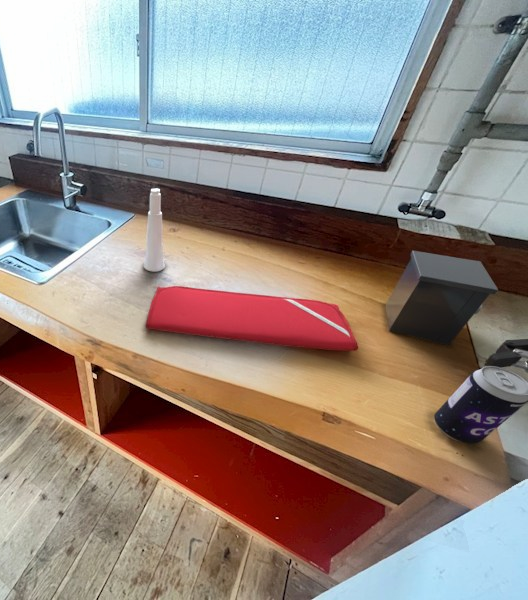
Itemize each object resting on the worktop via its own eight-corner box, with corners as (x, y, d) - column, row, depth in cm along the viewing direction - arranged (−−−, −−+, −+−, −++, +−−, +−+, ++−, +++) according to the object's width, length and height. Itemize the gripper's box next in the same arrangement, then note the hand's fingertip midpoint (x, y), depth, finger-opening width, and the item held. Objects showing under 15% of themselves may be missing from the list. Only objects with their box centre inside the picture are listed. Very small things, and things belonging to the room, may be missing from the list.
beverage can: (440, 441, 48) (491, 392, 41) (424, 410, 53) (468, 360, 46) (486, 451, 47) (548, 402, 40) (467, 418, 51) (519, 368, 44)
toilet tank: (441, 316, 71) (480, 261, 62) (452, 347, 63) (498, 290, 55) (382, 303, 75) (412, 250, 67) (386, 331, 68) (420, 275, 59)
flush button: (471, 308, 64) (480, 297, 62) (475, 316, 62) (484, 305, 60) (453, 305, 65) (461, 294, 64) (456, 312, 63) (465, 301, 62)
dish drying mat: (157, 290, 82) (157, 278, 80) (333, 310, 74) (338, 297, 72) (145, 331, 70) (145, 318, 68) (353, 360, 62) (361, 346, 59)
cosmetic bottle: (139, 265, 93) (138, 189, 80) (156, 259, 96) (157, 184, 82) (152, 274, 89) (152, 195, 76) (169, 267, 92) (172, 190, 78)
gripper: (584, 320, 49) (487, 331, 48) (737, 399, 37) (613, 415, 36) (547, 354, 53) (457, 365, 52) (673, 434, 42) (561, 449, 41)
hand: (521, 385), depth 44 cm, fingers open, 8 cm apart
